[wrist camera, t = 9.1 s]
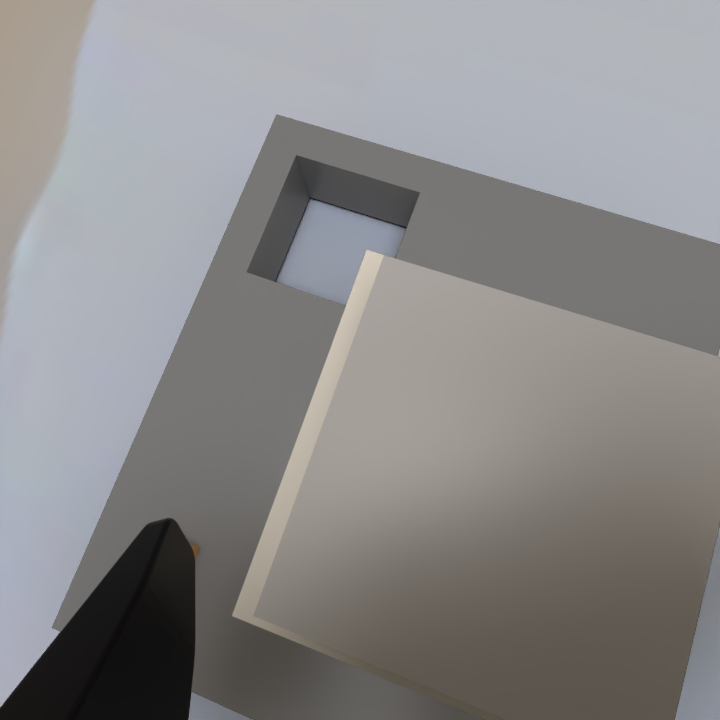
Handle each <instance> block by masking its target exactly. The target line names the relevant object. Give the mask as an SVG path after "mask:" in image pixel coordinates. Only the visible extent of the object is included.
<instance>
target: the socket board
mask: <svg viewBox="0 0 720 720" xmlns="http://www.w3.org/2000/svg"><path fill="white" fill-rule="evenodd" d="M310 197H311V198H314V199H318V200H321V201H324V202H327V203H330V204H334V205H337V206H340V207H343V208H346V209H350V210H353V211H356V212H359V213H362V214H366V215H369V216H372V217H375V218H378V219H382V220H385V221H388V222H391V223H394V224H398V225H401V226H404V227H407V229H406V232H405V234H404V237H403V239H402V242H401V245H400V247H399V250H398V253H397V255H396V258H395V259H399V260H402V261H405V262H408V263H412V264H415V265H418V266H422V267H425V268H428V269H432V270H435V271H438V272H441V273H445V274H448V275H451V276H455V277H458V278H461V279H465V280H468V281H471V282H474V283H478V284H481V285H484V286H488V287H491V288H494V289H497V290H501V291H504V292H507V293H511V294H514V295H517V296H521V297H524V298H527V299H530V300H534V301H537V302H540V303H544V304H547V305H550V306H554V307H557V308H560V309H563V310H567V311H570V312H573V313H577V314H580V315H583V316H587V317H590V318H593V319H596V320H600V321H603V322H606V323H610V324H613V325H616V326H620V327H623V328H626V329H629V330H633V331H636V332H639V333H643V334H646V335H649V336H653V337H656V338H659V339H662V340H666V341H669V342H672V343H676V344H679V345H682V346H686V347H689V348H692V349H695V350H699V351H702V352H705V353H709V354H712V355H715V356H718V353H719V349H720V244H717V243H714V242H710V241H707V240H703V239H700V238H697V237H693V236H690V235H686V234H683V233H679V232H676V231H673V230H669V229H666V228H662V227H659V226H656V225H652V224H649V223H645V222H642V221H639V220H635V219H632V218H628V217H625V216H621V215H618V214H615V213H611V212H608V211H604V210H601V209H598V208H594V207H591V206H587V205H584V204H581V203H577V202H574V201H570V200H567V199H563V198H560V197H557V196H553V195H550V194H546V193H543V192H540V191H536V190H533V189H529V188H526V187H523V186H519V185H516V184H512V183H509V182H505V181H502V180H499V179H495V178H492V177H488V176H485V175H482V174H478V173H475V172H471V171H468V170H465V169H461V168H458V167H454V166H451V165H447V164H444V163H441V162H437V161H434V160H430V159H427V158H424V157H420V156H417V155H413V154H410V153H407V152H403V151H400V150H396V149H393V148H389V147H386V146H383V145H379V144H376V143H372V142H369V141H366V140H362V139H359V138H355V137H352V136H349V135H345V134H342V133H338V132H335V131H331V130H328V129H325V128H321V127H318V126H314V125H311V124H308V123H304V122H301V121H297V120H294V119H291V118H287V117H284V116H280V115H277V114H276V117H275V119H274V121H273V124H272V126H271V128H270V130H269V133H268V135H267V137H266V140H265V142H264V144H263V146H262V149H261V151H260V153H259V156H258V158H257V160H256V162H255V165H254V167H253V169H252V172H251V174H250V176H249V178H248V181H247V183H246V185H245V188H244V190H243V192H242V194H241V197H240V199H239V201H238V204H237V206H236V208H235V210H234V213H233V215H232V217H231V219H230V222H229V224H228V226H227V229H226V231H225V233H224V235H223V238H222V240H221V242H220V245H219V247H218V249H217V251H216V254H215V256H214V258H213V261H212V263H211V265H210V267H209V270H208V272H207V274H206V277H205V279H204V281H203V283H202V286H201V288H200V290H199V293H198V295H197V297H196V299H195V302H194V304H193V306H192V309H191V311H190V313H189V315H188V318H187V320H186V322H185V325H184V327H183V329H182V331H181V334H180V336H179V338H178V341H177V343H176V345H175V347H174V350H173V352H172V354H171V357H170V359H169V361H168V363H167V366H166V368H165V370H164V373H163V375H162V377H161V379H160V382H159V384H158V386H157V389H156V391H155V393H154V395H153V398H152V400H151V402H150V405H149V407H148V409H147V411H146V414H145V416H144V418H143V421H142V423H141V425H140V427H139V430H138V432H137V434H136V437H135V439H134V441H133V443H132V446H131V448H130V450H129V452H128V455H127V457H126V459H125V462H124V464H123V466H122V468H121V471H120V473H119V475H118V478H117V480H116V482H115V484H114V487H113V489H112V491H111V494H110V496H109V498H108V500H107V503H106V505H105V507H104V510H103V512H102V514H101V516H100V519H99V521H98V523H97V526H96V528H95V530H94V532H93V535H92V537H91V539H90V542H89V544H88V546H87V548H86V551H85V553H84V555H83V558H82V560H81V562H80V564H79V567H78V569H77V571H76V574H75V576H74V578H73V580H72V583H71V585H70V587H69V590H68V592H67V594H66V596H65V599H64V601H63V603H62V606H61V608H60V610H59V612H58V615H57V617H56V619H55V622H54V624H53V626H52V628H53V629H56V630H58V631H60V632H61V631H62V629H63V628H64V627H65V626H66V624H67V623H68V622H69V620H70V619H71V618H72V617H73V615H74V614H75V613H76V612H77V610H78V609H79V608H80V607H81V605H82V604H83V603H84V602H85V600H86V599H87V598H88V597H89V595H90V594H91V593H92V592H93V590H94V589H95V588H96V587H97V585H98V584H99V583H100V581H101V580H102V579H103V578H104V576H105V575H106V574H107V573H108V571H109V570H110V569H111V568H112V566H113V565H114V564H115V563H116V561H117V560H118V559H119V558H120V556H121V555H122V554H123V553H124V551H125V550H126V549H127V548H128V546H129V545H130V544H131V543H132V541H133V540H134V539H135V537H136V536H137V535H138V534H139V532H140V531H141V530H142V529H143V527H144V526H145V525H146V524H148V523H150V522H152V521H157V520H161V519H165V518H173V519H174V520H176V522H177V523H178V525H179V526H180V528H181V530H182V532H183V533H184V535H185V537H186V538H187V540H188V542H189V543H190V545H191V547H192V549H193V552H194V556H195V612H196V639H195V661H194V671H193V681H192V690H191V692H193V693H196V694H198V695H200V696H202V697H204V698H207V699H209V700H211V701H213V702H215V703H218V704H220V705H222V706H224V707H226V708H229V709H231V710H233V711H235V712H237V713H239V714H242V715H244V716H246V717H248V718H250V719H253V720H485V719H482V718H480V717H477V716H475V715H473V714H470V713H468V712H465V711H463V710H460V709H458V708H455V707H453V706H451V705H448V704H446V703H443V702H441V701H438V700H436V699H433V698H431V697H429V696H426V695H424V694H421V693H419V692H416V691H414V690H412V689H409V688H407V687H404V686H402V685H399V684H397V683H394V682H392V681H390V680H387V679H385V678H382V677H380V676H377V675H375V674H372V673H370V672H368V671H365V670H363V669H360V668H358V667H355V666H353V665H350V664H348V663H346V662H343V661H341V660H338V659H336V658H333V657H331V656H328V655H326V654H324V653H321V652H319V651H316V650H314V649H311V648H309V647H306V646H304V645H302V644H299V643H297V642H294V641H292V640H289V639H287V638H285V637H282V636H280V635H277V634H275V633H272V632H270V631H267V630H265V629H263V628H260V627H258V626H255V625H253V624H250V623H248V622H245V621H243V620H241V619H238V618H236V617H233V616H232V614H233V611H234V609H235V606H236V603H237V600H238V598H239V595H240V592H241V590H242V587H243V584H244V581H245V579H246V576H247V573H248V571H249V568H250V565H251V562H252V560H253V557H254V554H255V552H256V549H257V546H258V543H259V541H260V538H261V535H262V533H263V530H264V527H265V524H266V522H267V519H268V516H269V514H270V511H271V508H272V505H273V503H274V500H275V497H276V495H277V492H278V489H279V486H280V484H281V481H282V478H283V476H284V473H285V470H286V467H287V465H288V462H289V459H290V457H291V454H292V451H293V448H294V446H295V443H296V440H297V438H298V435H299V432H300V429H301V427H302V424H303V421H304V419H305V416H306V413H307V410H308V408H309V405H310V402H311V400H312V397H313V394H314V391H315V389H316V386H317V383H318V381H319V378H320V375H321V372H322V370H323V367H324V364H325V362H326V359H327V356H328V353H329V351H330V348H331V345H332V343H333V340H334V337H335V334H336V332H337V329H338V326H339V324H340V321H341V318H342V315H343V313H344V310H345V307H346V306H345V305H342V304H339V303H336V302H333V301H330V300H327V299H324V298H321V297H318V296H315V295H312V294H309V293H306V292H303V291H301V290H298V289H295V288H292V287H289V286H286V285H283V284H280V283H277V282H275V280H276V278H277V276H278V273H279V271H280V268H281V266H282V264H283V261H284V259H285V256H286V254H287V251H288V249H289V247H290V244H291V242H292V239H293V237H294V235H295V232H296V230H297V227H298V225H299V223H300V220H301V218H302V215H303V213H304V210H305V208H306V206H307V203H308V201H309V198H310Z"/></svg>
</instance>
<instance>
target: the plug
mask: <svg viewBox="0 0 720 720" xmlns="http://www.w3.org/2000/svg"><path fill="white" fill-rule="evenodd" d="M719 526H720V357H718V356H715V355H712V354H709V353H705V352H702V351H699V350H695V349H692V348H689V347H686V346H682V345H679V344H676V343H672V342H669V341H666V340H662V339H659V338H656V337H653V336H649V335H646V334H643V333H639V332H636V331H633V330H629V329H626V328H623V327H620V326H616V325H613V324H610V323H606V322H603V321H600V320H596V319H593V318H590V317H587V316H583V315H580V314H577V313H573V312H570V311H567V310H563V309H560V308H557V307H554V306H550V305H547V304H544V303H540V302H537V301H534V300H530V299H527V298H524V297H521V296H517V295H514V294H511V293H507V292H504V291H501V290H497V289H494V288H491V287H488V286H484V285H481V284H478V283H474V282H471V281H468V280H465V279H461V278H458V277H455V276H451V275H448V274H445V273H441V272H438V271H435V270H432V269H428V268H425V267H422V266H418V265H415V264H412V263H408V262H405V261H402V260H399V259H395V258H392V257H389V256H385V255H382V254H378V253H375V252H372V251H368V250H366V253H365V256H364V258H363V261H362V264H361V267H360V269H359V272H358V275H357V277H356V280H355V283H354V286H353V288H352V291H351V294H350V296H349V299H348V302H347V305H346V307H345V310H344V313H343V315H342V318H341V321H340V324H339V326H338V329H337V332H336V334H335V337H334V340H333V343H332V345H331V348H330V351H329V353H328V356H327V359H326V362H325V364H324V367H323V370H322V372H321V375H320V378H319V381H318V383H317V386H316V389H315V391H314V394H313V397H312V400H311V402H310V405H309V408H308V410H307V413H306V416H305V419H304V421H303V424H302V427H301V429H300V432H299V435H298V438H297V440H296V443H295V446H294V448H293V451H292V454H291V457H290V459H289V462H288V465H287V467H286V470H285V473H284V476H283V478H282V481H281V484H280V486H279V489H278V492H277V495H276V497H275V500H274V503H273V505H272V508H271V511H270V514H269V516H268V519H267V522H266V524H265V527H264V530H263V533H262V535H261V538H260V541H259V543H258V546H257V549H256V552H255V554H254V557H253V560H252V562H251V565H250V568H249V571H248V573H247V576H246V579H245V581H244V584H243V587H242V590H241V592H240V595H239V598H238V600H237V603H236V606H235V609H234V611H233V614H232V616H233V617H236V618H238V619H241V620H243V621H245V622H248V623H250V624H253V625H255V626H258V627H260V628H263V629H265V630H267V631H270V632H272V633H275V634H277V635H280V636H282V637H285V638H287V639H289V640H292V641H294V642H297V643H299V644H302V645H304V646H306V647H309V648H311V649H314V650H316V651H319V652H321V653H324V654H326V655H328V656H331V657H333V658H336V659H338V660H341V661H343V662H346V663H348V664H350V665H353V666H355V667H358V668H360V669H363V670H365V671H368V672H370V673H372V674H375V675H377V676H380V677H382V678H385V679H387V680H390V681H392V682H394V683H397V684H399V685H402V686H404V687H407V688H409V689H412V690H414V691H416V692H419V693H421V694H424V695H426V696H429V697H431V698H433V699H436V700H438V701H441V702H443V703H446V704H448V705H451V706H453V707H455V708H458V709H460V710H463V711H465V712H468V713H470V714H473V715H475V716H477V717H480V718H482V719H485V720H675V717H676V712H677V708H678V704H679V699H680V695H681V691H682V686H683V682H684V678H685V673H686V669H687V665H688V660H689V656H690V652H691V647H692V643H693V639H694V634H695V630H696V625H697V621H698V617H699V612H700V608H701V604H702V599H703V595H704V591H705V586H706V582H707V578H708V573H709V569H710V565H711V560H712V556H713V552H714V547H715V543H716V539H717V534H718V530H719Z"/></svg>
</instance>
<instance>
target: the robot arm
mask: <svg viewBox="0 0 720 720" xmlns="http://www.w3.org/2000/svg"><path fill="white" fill-rule="evenodd" d="M195 639H196V612H195V556H194V552H193V549H192V547H191V545H190V543H189V542H188V540H187V538H186V537H185V535H184V533H183V532H182V530H181V528H180V526H179V525H178V523H177V522H176V520H174V519H173V518H165V519H161V520H157V521H152V522H150V523H148V524H146V525H145V526H144V527H143V529H142V530H141V531H140V532H139V534H138V535H137V536H136V537H135V539H134V540H133V541H132V543H131V544H130V545H129V546H128V548H127V549H126V550H125V551H124V553H123V554H122V555H121V556H120V558H119V559H118V560H117V561H116V563H115V564H114V565H113V566H112V568H111V569H110V570H109V571H108V573H107V574H106V575H105V576H104V578H103V579H102V580H101V581H100V583H99V584H98V585H97V587H96V588H95V589H94V590H93V592H92V593H91V594H90V595H89V597H88V598H87V599H86V600H85V602H84V603H83V604H82V605H81V607H80V608H79V609H78V610H77V612H76V613H75V614H74V615H73V617H72V618H71V619H70V620H69V622H68V623H67V624H66V626H65V627H64V628H63V629H62V631H61V632H60V633H59V634H58V636H57V637H56V638H55V639H54V641H53V642H52V643H51V644H50V646H49V647H48V648H47V649H46V651H45V652H44V653H43V654H42V656H41V657H40V658H39V659H38V661H37V662H36V663H35V664H34V666H33V667H32V668H31V670H30V671H29V672H28V673H27V675H26V676H25V677H24V678H23V680H22V681H21V682H20V683H19V685H18V686H17V687H16V688H15V690H14V691H13V692H12V693H11V695H10V696H9V697H8V698H7V700H6V701H5V702H4V703H3V705H2V706H1V707H0V720H188V718H189V708H190V699H191V690H192V681H193V671H194V661H195Z"/></svg>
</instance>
